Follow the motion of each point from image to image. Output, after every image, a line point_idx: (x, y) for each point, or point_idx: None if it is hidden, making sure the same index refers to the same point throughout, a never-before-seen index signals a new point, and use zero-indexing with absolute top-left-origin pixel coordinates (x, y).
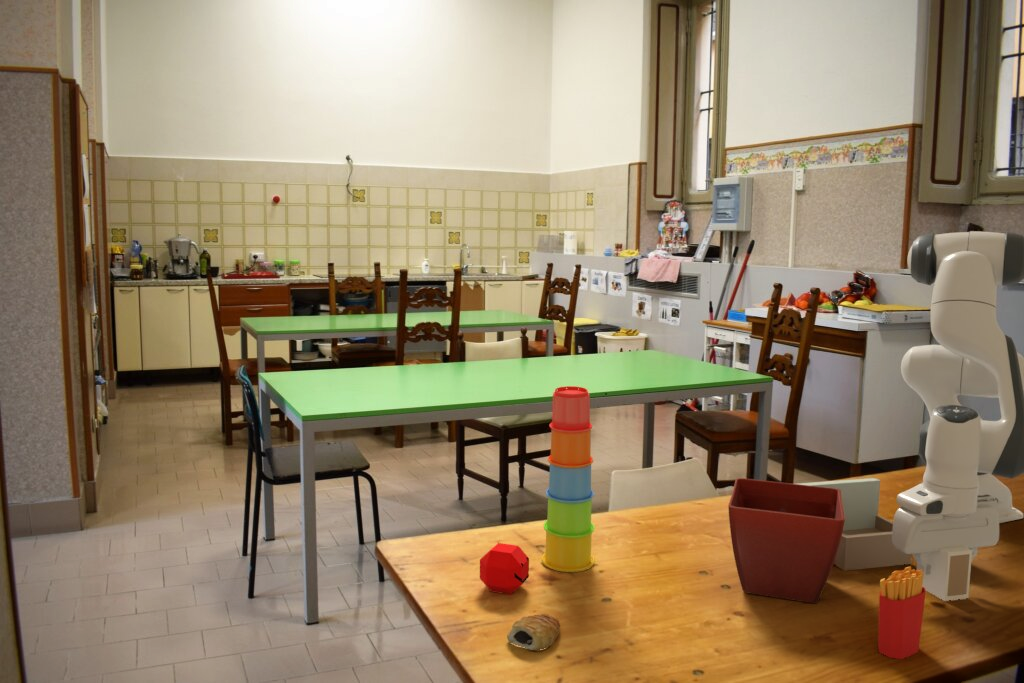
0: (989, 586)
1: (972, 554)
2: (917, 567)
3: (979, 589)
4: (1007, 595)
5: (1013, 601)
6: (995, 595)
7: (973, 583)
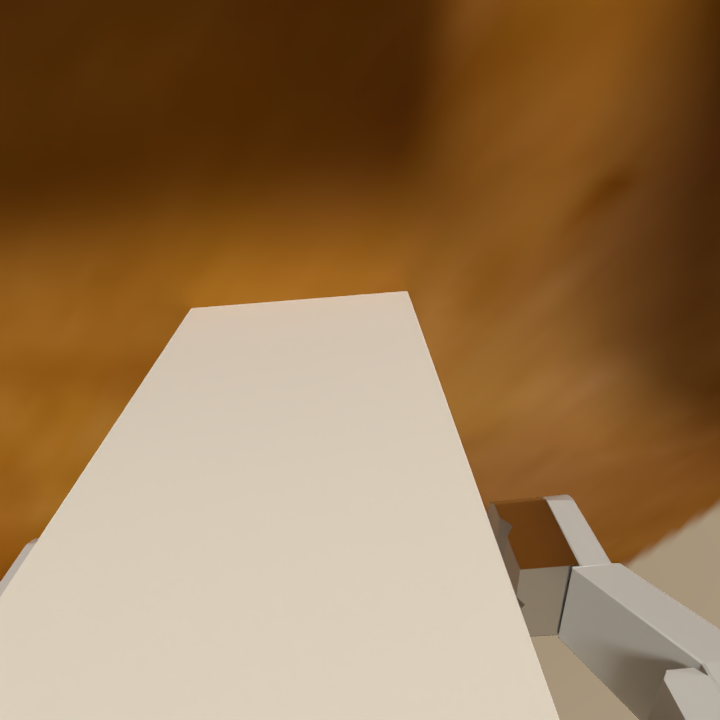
0: (704, 392)
1: (643, 718)
2: (12, 576)
3: (593, 422)
4: (673, 503)
5: (626, 558)
6: (606, 497)
7: (648, 338)
